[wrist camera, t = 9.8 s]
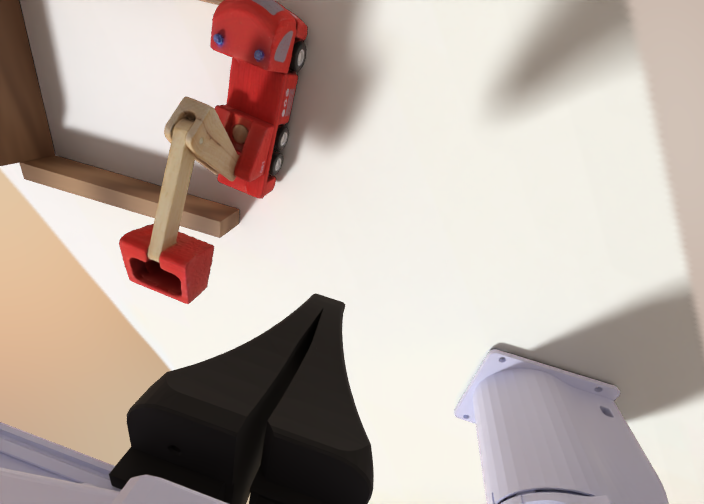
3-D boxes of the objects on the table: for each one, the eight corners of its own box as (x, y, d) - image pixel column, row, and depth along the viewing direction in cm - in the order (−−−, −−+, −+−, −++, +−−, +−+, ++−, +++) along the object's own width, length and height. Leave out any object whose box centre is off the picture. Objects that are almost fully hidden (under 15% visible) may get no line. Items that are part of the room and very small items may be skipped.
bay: (249, -16, 17) (204, -41, 14) (238, 223, 24) (206, 247, 21) (-17, -78, 18) (-121, -116, 15) (45, 166, 25) (-16, 179, 22)
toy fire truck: (316, 18, 17) (210, -42, 9) (267, 234, 24) (181, 315, 16) (258, -4, 17) (99, -85, 9) (225, 217, 24) (118, 288, 16)
